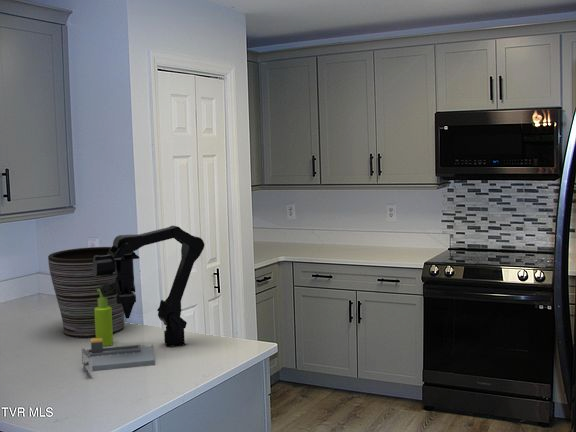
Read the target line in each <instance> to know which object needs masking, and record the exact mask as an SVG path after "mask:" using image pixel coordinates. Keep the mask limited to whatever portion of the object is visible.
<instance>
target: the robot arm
mask: <svg viewBox="0 0 576 432" xmlns="http://www.w3.org/2000/svg"><path fill="white" fill-rule="evenodd" d="M172 239H174V240H175V241H176V242H178V243H179V244H181V249H180V252H181V253H180V254H181V259H180V262H179V265H178V268H177V271H176V274H175V276H174V279H173V282H172V286H171V289H170V292H169V294H168V296H167V298H166V299H165V300H162V299H160V302H159V306H158V307H157V309H156V311H157V317H158V319H159V320H160V321H161V322H162V323H163V325H164V326H165V330H164V331H163V336H164V337H163V338H164V339H163V340H164V344H165V345H166V347H177V346H186V342H185V339H186V338H185V329H186V327H187V323H188V322H187V321H186V320H184V319H183V318H182V317H181V314H182V299H183V296H184V293H185V290H186V288H187V285H188V281H189V278H190V275H191V273H192V269H193V267H194V264H195V262H197V260H198V259H199V257H201V254H202V253H203V251H204V249H205V242H204V240H203V239H202V238H201V237H199V236H196V235H192V234H190V233H189V232H187V231H186V230H183V229H182V228H181V227H180V226H176V225H170V226H167V227H165V228H159V229H156V230H152V231H148V232H143V233H139V234H119V235H117V236H116V237H114V239H113V241H112V246H110V247H111V249H110V250H109V252H108V254H107V255H103V256H94V260H93V265H92V271H93V274H94V276H95V277H96V276H104V275H112V274H113V272H115V270H116V280H114V281H111V282H109V283H106V284H104V285H102V286H100V288H99V289H100V291H101V293H102V295H103V297H105V296H107V295H109V294H111V293H113V292H115V291H116V293H117V294H118V295H117V296H116V300H117V304H122V306H123V310H124V318H126V319H129V318H130V317H131V313H132V311H133V308H134V305H135V303H136V302H137V296H136V284H135V271H134V270H135V269H134V260H138V259H140V256H139V255H138V254H136V252H135V251H137V250H139V249H141V248H142V247H144V246H147V245H152V244H156V243H160V242H164V241H167V240H172ZM129 253H130V254H129ZM115 261H116V264H115Z"/></svg>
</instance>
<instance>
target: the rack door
mask: <svg viewBox="0 0 576 432" xmlns="http://www.w3.org/2000/svg"><path fill="white" fill-rule="evenodd" d="M82 359H83V364H82V365H83V366H85V368H86V369H87V370H88V371H87V372H88V373H89V374H90V373H93V372H94V371H92V357H91V356H90V355H89V354H88V352H87V349H85V350H82V349H81V360H82Z"/></svg>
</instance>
